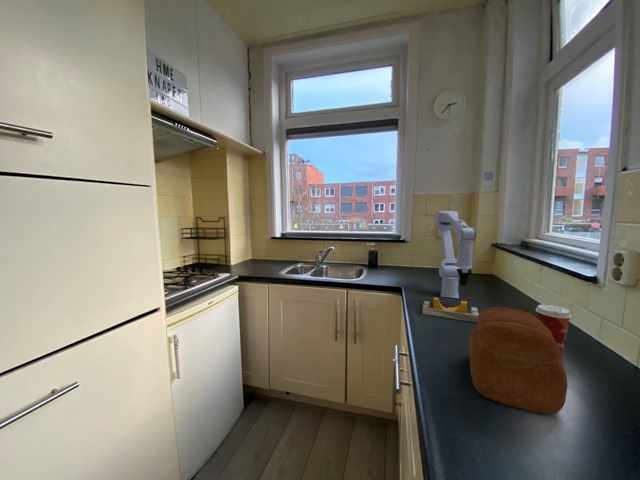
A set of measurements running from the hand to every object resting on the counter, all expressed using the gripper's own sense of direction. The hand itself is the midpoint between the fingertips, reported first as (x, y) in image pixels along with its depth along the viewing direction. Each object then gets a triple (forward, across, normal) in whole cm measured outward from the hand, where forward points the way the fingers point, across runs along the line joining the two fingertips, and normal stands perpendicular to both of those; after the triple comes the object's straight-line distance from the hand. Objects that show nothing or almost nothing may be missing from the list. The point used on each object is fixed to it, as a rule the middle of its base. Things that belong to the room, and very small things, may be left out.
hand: (463, 285), depth 114 cm
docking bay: (+9, +12, -5) cm, 16 cm away
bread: (+10, +54, +8) cm, 55 cm away
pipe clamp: (+10, +13, -5) cm, 17 cm away
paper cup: (+10, +34, +21) cm, 41 cm away
